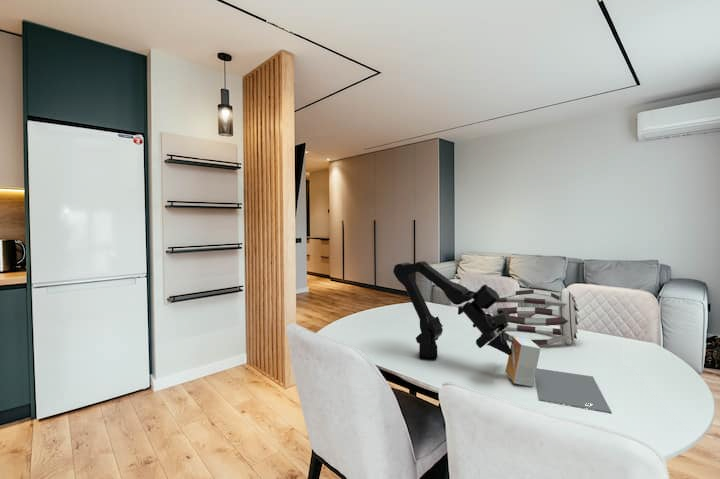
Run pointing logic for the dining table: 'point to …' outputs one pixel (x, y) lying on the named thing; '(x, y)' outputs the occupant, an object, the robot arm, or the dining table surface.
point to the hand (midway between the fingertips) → (510, 354)
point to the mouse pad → (569, 389)
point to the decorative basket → (564, 314)
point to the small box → (523, 361)
